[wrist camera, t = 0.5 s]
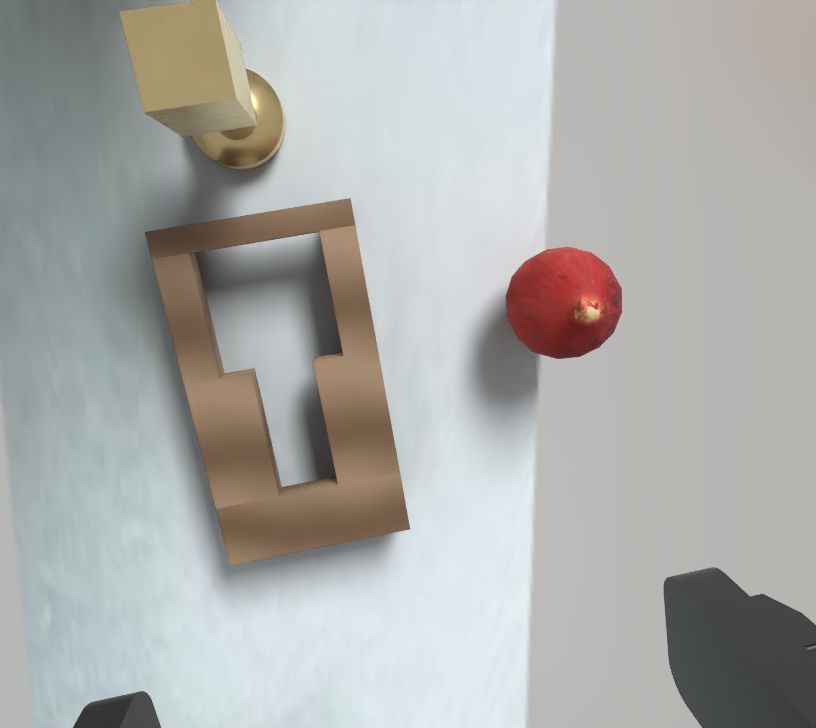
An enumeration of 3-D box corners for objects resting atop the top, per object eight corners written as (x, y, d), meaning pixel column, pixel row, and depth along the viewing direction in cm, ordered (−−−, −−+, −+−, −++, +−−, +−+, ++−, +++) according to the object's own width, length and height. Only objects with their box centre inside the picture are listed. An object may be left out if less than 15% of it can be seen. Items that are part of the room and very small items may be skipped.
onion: (586, 242, 34) (656, 241, 26) (590, 339, 35) (658, 366, 28) (488, 252, 34) (530, 255, 26) (495, 350, 35) (537, 381, 27)
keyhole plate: (167, 233, 32) (144, 232, 28) (350, 203, 32) (350, 198, 29) (242, 533, 36) (230, 565, 32) (404, 501, 36) (409, 529, 33)
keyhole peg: (182, 80, 30) (88, -12, 19) (274, 66, 31) (233, -32, 20) (204, 176, 31) (126, 140, 20) (293, 161, 32) (264, 118, 21)
